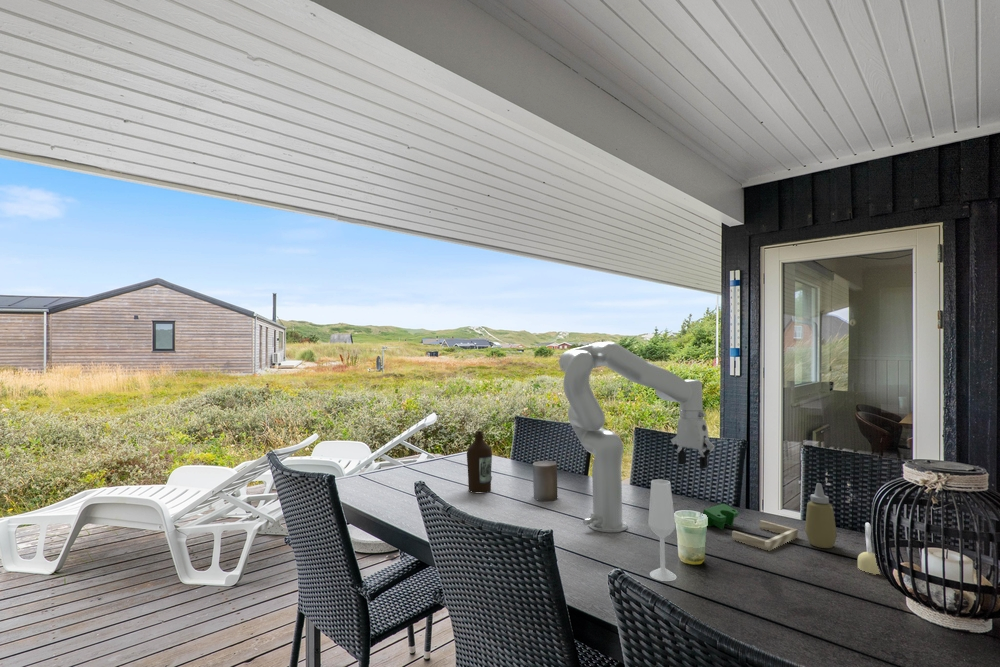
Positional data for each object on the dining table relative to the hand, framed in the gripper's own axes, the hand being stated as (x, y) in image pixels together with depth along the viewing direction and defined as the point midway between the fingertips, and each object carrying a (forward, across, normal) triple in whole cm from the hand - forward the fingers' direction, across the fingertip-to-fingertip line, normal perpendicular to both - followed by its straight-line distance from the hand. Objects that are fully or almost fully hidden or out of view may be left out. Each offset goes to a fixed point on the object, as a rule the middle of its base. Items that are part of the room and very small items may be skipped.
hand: (692, 465), depth 176 cm
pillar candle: (+18, +50, +25) cm, 59 cm away
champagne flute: (+18, -22, +46) cm, 54 cm away
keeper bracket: (+18, -24, 0) cm, 30 cm away
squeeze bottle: (+18, -37, -8) cm, 42 cm away
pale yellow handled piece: (+18, -52, 0) cm, 55 cm away
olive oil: (+18, +75, +40) cm, 87 cm away
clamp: (+18, -10, 0) cm, 21 cm away
